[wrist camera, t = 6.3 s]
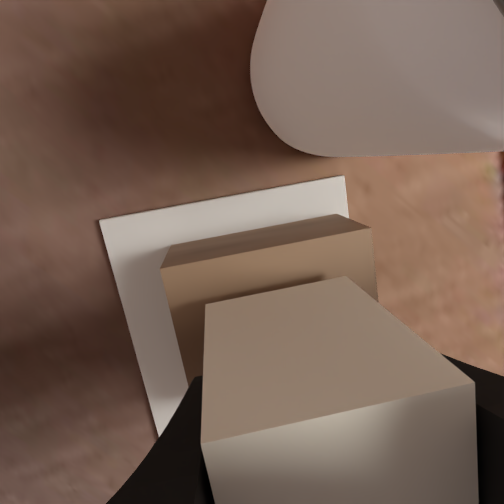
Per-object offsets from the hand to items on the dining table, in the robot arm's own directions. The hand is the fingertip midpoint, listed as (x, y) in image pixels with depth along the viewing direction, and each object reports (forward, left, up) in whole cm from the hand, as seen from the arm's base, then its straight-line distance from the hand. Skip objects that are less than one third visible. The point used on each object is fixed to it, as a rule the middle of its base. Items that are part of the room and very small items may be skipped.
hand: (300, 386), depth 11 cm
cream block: (0, 0, -2) cm, 2 cm away
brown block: (0, 0, -6) cm, 6 cm away
